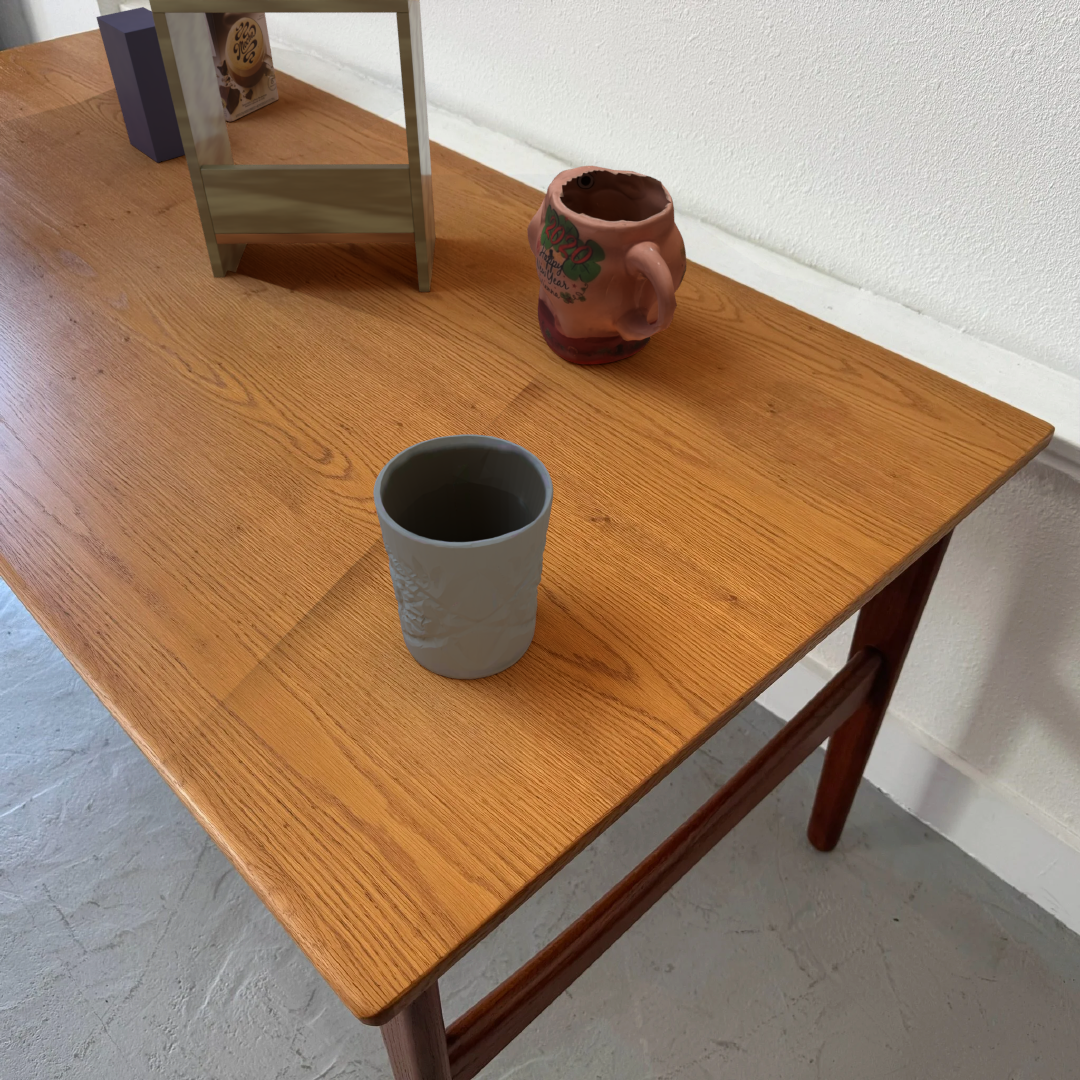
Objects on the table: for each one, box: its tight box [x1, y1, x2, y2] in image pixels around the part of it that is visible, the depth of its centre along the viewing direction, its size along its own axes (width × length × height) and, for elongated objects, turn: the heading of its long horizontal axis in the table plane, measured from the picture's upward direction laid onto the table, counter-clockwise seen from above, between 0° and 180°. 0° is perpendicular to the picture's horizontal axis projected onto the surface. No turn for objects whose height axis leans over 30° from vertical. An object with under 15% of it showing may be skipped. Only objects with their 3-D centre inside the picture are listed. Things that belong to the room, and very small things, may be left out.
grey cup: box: [373, 433, 554, 680], centre depth 63 cm, size 10×10×12 cm
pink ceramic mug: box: [526, 165, 687, 365], centre depth 86 cm, size 20×12×14 cm, turn 30°
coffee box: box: [204, 13, 280, 122], centre depth 125 cm, size 9×6×16 cm
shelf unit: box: [148, 0, 437, 293], centre depth 92 cm, size 11×20×26 cm, turn 91°
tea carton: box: [95, 6, 185, 164], centre depth 116 cm, size 6×7×14 cm
